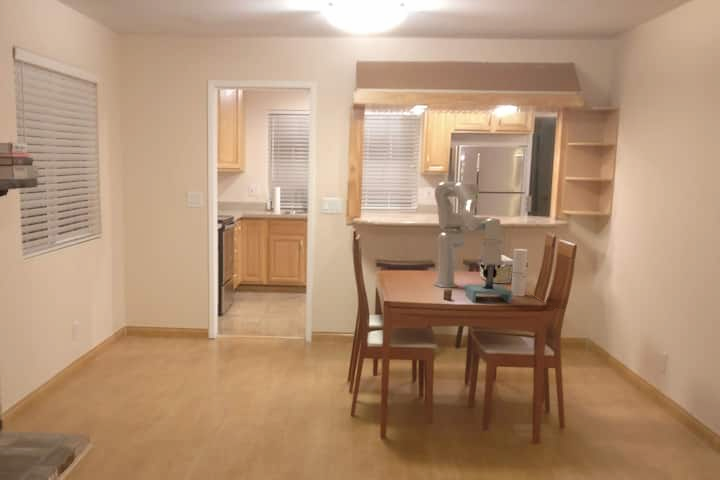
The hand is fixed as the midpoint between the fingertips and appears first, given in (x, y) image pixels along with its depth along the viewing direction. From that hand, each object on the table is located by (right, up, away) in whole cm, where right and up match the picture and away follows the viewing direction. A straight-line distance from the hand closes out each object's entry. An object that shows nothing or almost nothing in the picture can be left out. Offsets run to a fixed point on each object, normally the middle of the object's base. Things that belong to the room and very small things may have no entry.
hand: (489, 276), depth 292 cm
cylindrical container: (+19, -11, +15) cm, 27 cm away
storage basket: (+16, -6, +57) cm, 60 cm away
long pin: (0, -8, +1) cm, 8 cm away
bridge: (-1, -12, +2) cm, 12 cm away
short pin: (-22, -12, -2) cm, 25 cm away
